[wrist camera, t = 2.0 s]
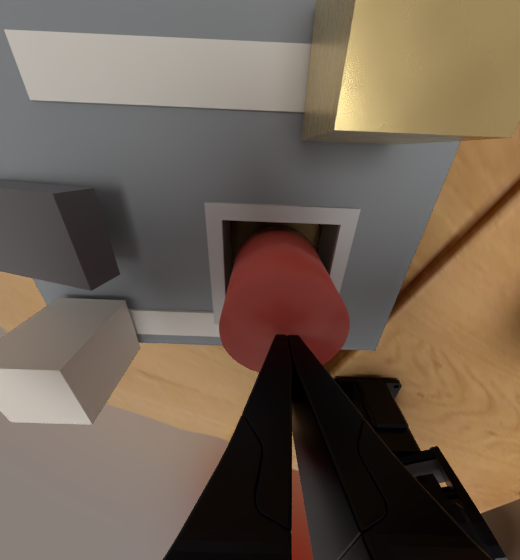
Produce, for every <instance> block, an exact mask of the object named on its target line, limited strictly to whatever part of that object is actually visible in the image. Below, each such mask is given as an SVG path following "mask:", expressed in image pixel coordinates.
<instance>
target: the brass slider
mask: <svg viewBox="0 0 520 560" xmlns="http://www.w3.org/2000/svg"><path fill="white" fill-rule="evenodd" d="M519 122H520V0H316V4H315V14H314V23H313V32H312V41H311V51H310V60H309V69H308V79H307V88H306V97H305V106H304V116H303V125H302V134H301V141H319V142H342V143H366V144H389V145H401V144H418V143H434V142H451V141H467V140H483V139H500V138H512V136H513V134H514V132H515V130H516V128H517V126H518V124H519Z"/></svg>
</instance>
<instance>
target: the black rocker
mask: <svg viewBox="0 0 520 560" xmlns="http://www.w3.org/2000/svg"><path fill="white" fill-rule="evenodd" d="M0 271H2V272H7V273H11V274H16V275H20V276H25V277H30V278H34V279H39V280H43V281H48V282H52V283H57V284H62V285H66V286H71V287H75V288H80V289H85V290H89V291H92V290H94V289H96V288H97V287H99V286H101V285H103V284H104V283H106V282H108V281H110V280H112V279H113V278H115V277H117V276H119V275H120V272H119V268H118V265H117V262H116V259H115V255H114V252H113V249H112V246H111V242H110V239H109V236H108V233H107V230H106V226H105V223H104V220H103V217H102V213H101V210H100V207H99V204H98V200H97V197H96V194H95V191H94V188H88V187H77V186H66V185H56V184H45V183H34V182H24V181H13V180H2V179H0Z"/></svg>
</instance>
